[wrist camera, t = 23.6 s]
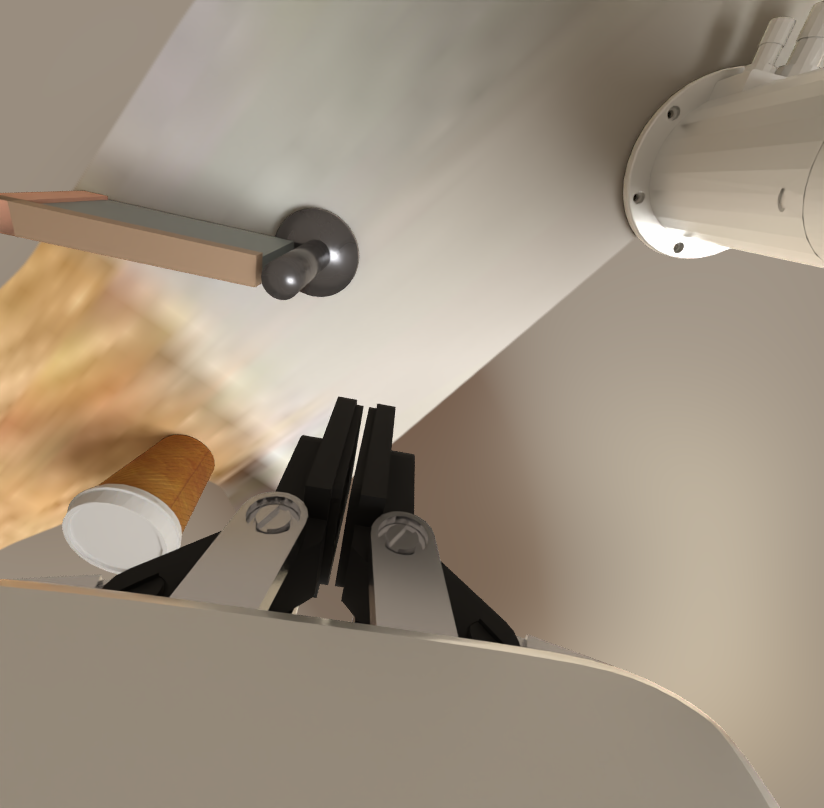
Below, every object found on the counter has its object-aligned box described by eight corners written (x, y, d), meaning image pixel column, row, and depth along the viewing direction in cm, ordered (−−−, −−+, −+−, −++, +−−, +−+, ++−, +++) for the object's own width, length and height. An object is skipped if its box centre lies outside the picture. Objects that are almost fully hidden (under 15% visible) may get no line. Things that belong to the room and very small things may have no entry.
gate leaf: (294, 238, 34) (256, 255, 26) (292, 263, 35) (255, 287, 27) (83, 190, 32) (-26, 193, 24) (87, 218, 33) (-17, 229, 25)
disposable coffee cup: (152, 489, 48) (77, 576, 38) (131, 418, 44) (38, 494, 33) (235, 494, 48) (182, 582, 38) (222, 424, 44) (159, 501, 33)
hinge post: (278, 199, 34) (222, 207, 24) (364, 218, 34) (343, 233, 24) (275, 285, 37) (224, 323, 27) (353, 301, 37) (330, 343, 28)
